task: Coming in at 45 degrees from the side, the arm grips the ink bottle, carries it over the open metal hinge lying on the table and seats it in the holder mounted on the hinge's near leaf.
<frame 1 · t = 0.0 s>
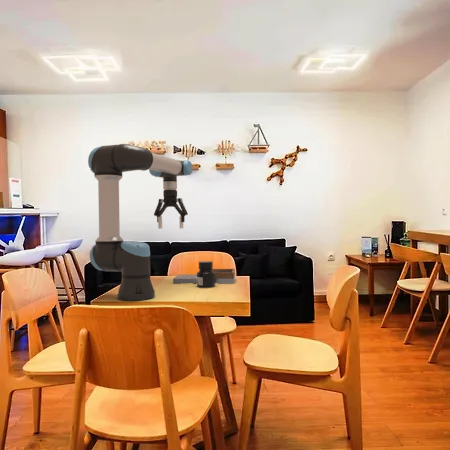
hand: (170, 228, 211), 28 cm above the table, tool pointing down, fingers open, 13 cm apart
hinge: (205, 281, 203), on the table
ink bottle: (205, 286, 187), on the table
holder: (221, 273, 202), point 3 cm above the table
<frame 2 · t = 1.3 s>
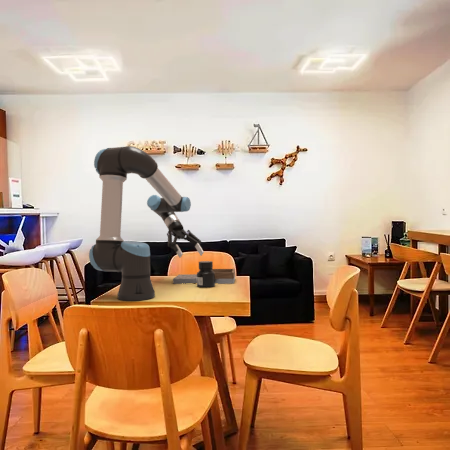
hand: (192, 254, 195), 15 cm above the table, tool tilted 45°, fingers open, 13 cm apart
nothing on the table moved.
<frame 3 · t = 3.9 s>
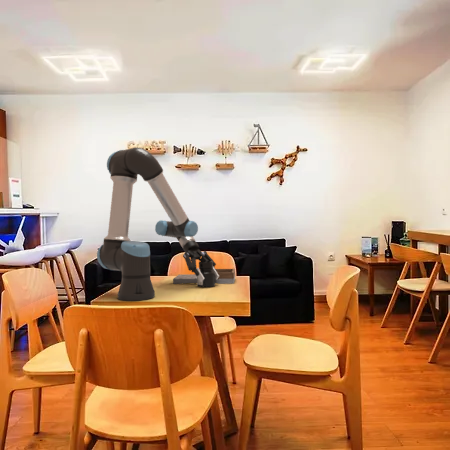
hand: (210, 279, 185), 4 cm above the table, tool tilted 45°, fingers closed on ink bottle, 9 cm apart
ink bottle: (206, 286, 187), on the table, touching gripper
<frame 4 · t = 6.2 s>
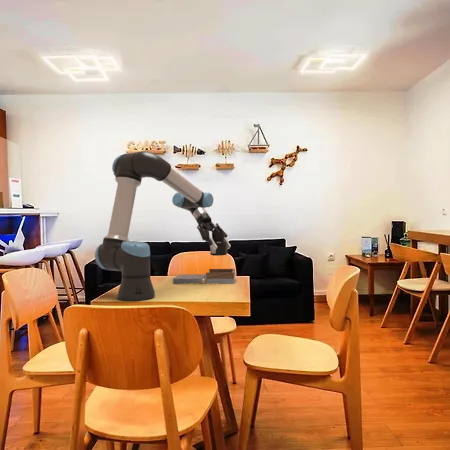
hand: (222, 248, 199), 18 cm above the table, tool tilted 45°, fingers closed on ink bottle, 9 cm apart
ink bottle: (218, 255, 202), point 14 cm above the table, touching gripper
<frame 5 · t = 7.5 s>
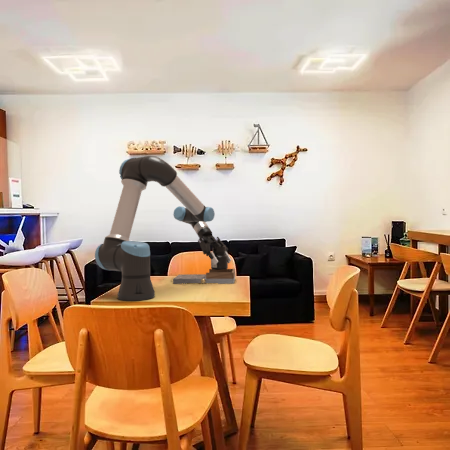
hand: (223, 262, 200), 10 cm above the table, tool tilted 45°, fingers closed on ink bottle, 9 cm apart
ink bottle: (219, 269, 203), point 6 cm above the table, touching gripper
when the fingers open (8 cm above the table, at t = 8.5 s): ink bottle drops 1 cm, resting on hinge.
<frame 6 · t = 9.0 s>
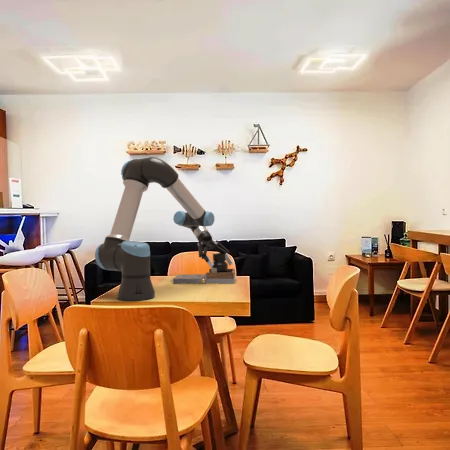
hand: (222, 265, 201), 9 cm above the table, tool tilted 45°, fingers open, 13 cm apart
ink bottle: (219, 276, 203), point 2 cm above the table, touching hinge
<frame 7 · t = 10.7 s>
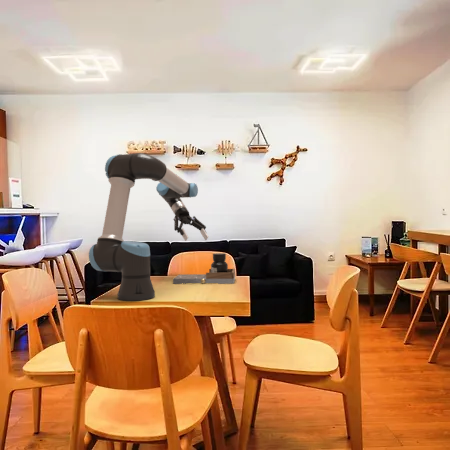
hand: (197, 238, 205), 22 cm above the table, tool tilted 45°, fingers open, 13 cm apart
nothing on the table moved.
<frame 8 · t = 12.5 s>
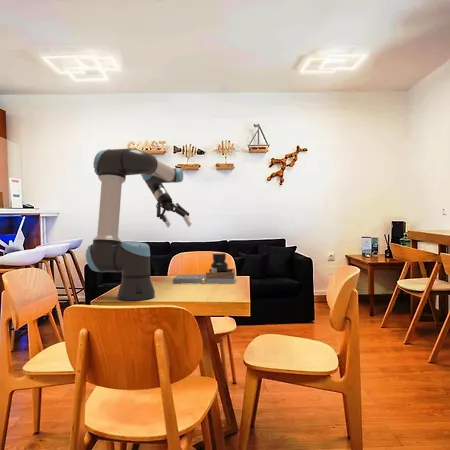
hand: (180, 225, 202), 30 cm above the table, tool tilted 45°, fingers open, 13 cm apart
nothing on the table moved.
at the end: ink bottle inside the target area (0.2 cm from its centre), point 2.3 cm above the table; ink bottle tilted 0°; the gripper is holding nothing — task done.
